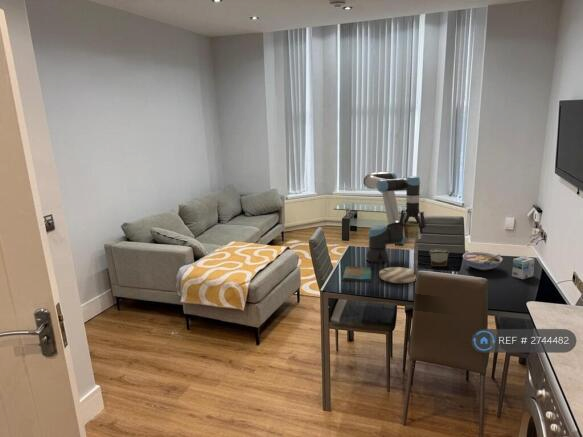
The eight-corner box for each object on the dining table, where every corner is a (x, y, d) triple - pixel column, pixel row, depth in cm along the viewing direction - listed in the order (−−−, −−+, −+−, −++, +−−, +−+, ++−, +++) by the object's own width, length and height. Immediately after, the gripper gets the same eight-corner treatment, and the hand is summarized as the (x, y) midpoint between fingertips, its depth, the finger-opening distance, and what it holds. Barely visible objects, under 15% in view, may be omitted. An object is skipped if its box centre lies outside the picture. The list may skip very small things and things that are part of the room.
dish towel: (342, 281, 239) (342, 277, 239) (345, 268, 262) (344, 265, 261) (371, 282, 236) (371, 278, 235) (371, 269, 258) (371, 265, 258)
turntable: (372, 278, 237) (372, 247, 233) (389, 267, 253) (390, 239, 249) (407, 286, 223) (408, 253, 219) (423, 274, 239) (424, 244, 235)
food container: (446, 262, 264) (446, 248, 262) (448, 265, 258) (449, 250, 256) (427, 262, 265) (427, 248, 263) (429, 265, 259) (429, 251, 257)
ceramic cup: (418, 241, 240) (419, 224, 238) (401, 240, 244) (402, 224, 242) (420, 235, 252) (420, 220, 250) (403, 234, 255) (404, 219, 253)
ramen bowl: (471, 260, 267) (471, 248, 265) (508, 267, 251) (509, 254, 249) (454, 269, 250) (455, 257, 248) (493, 278, 234) (494, 264, 232)
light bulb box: (522, 279, 229) (523, 261, 227) (511, 276, 235) (512, 258, 233) (533, 276, 234) (535, 258, 232) (522, 272, 240) (524, 255, 238)
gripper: (393, 201, 247) (392, 236, 252) (427, 204, 233) (426, 241, 238) (398, 199, 252) (398, 234, 257) (432, 202, 239) (431, 238, 243)
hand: (411, 237), depth 247 cm, fingers closed on ceramic cup, 9 cm apart
